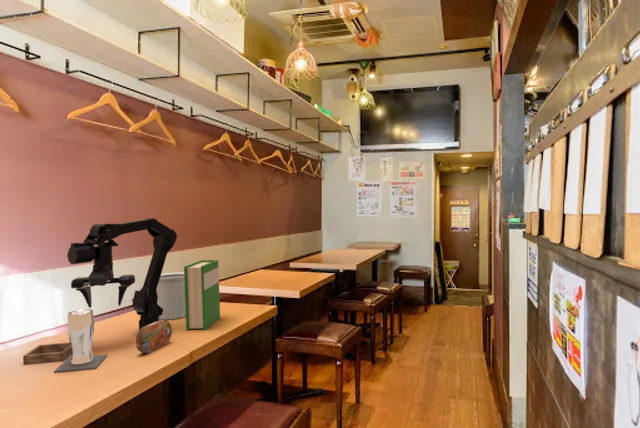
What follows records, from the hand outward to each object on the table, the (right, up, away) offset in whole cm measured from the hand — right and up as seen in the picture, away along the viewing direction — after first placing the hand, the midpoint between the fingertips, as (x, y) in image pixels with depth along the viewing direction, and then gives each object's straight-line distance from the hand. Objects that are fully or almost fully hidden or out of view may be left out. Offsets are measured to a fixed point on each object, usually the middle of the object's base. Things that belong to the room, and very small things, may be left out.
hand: (104, 306), depth 146 cm
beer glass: (+2, -13, -17) cm, 22 cm away
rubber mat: (+2, -13, -18) cm, 22 cm away
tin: (+19, -13, -5) cm, 23 cm away
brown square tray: (-12, -14, -10) cm, 21 cm away
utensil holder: (+10, -12, +38) cm, 41 cm away
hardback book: (+27, -12, +23) cm, 38 cm away
